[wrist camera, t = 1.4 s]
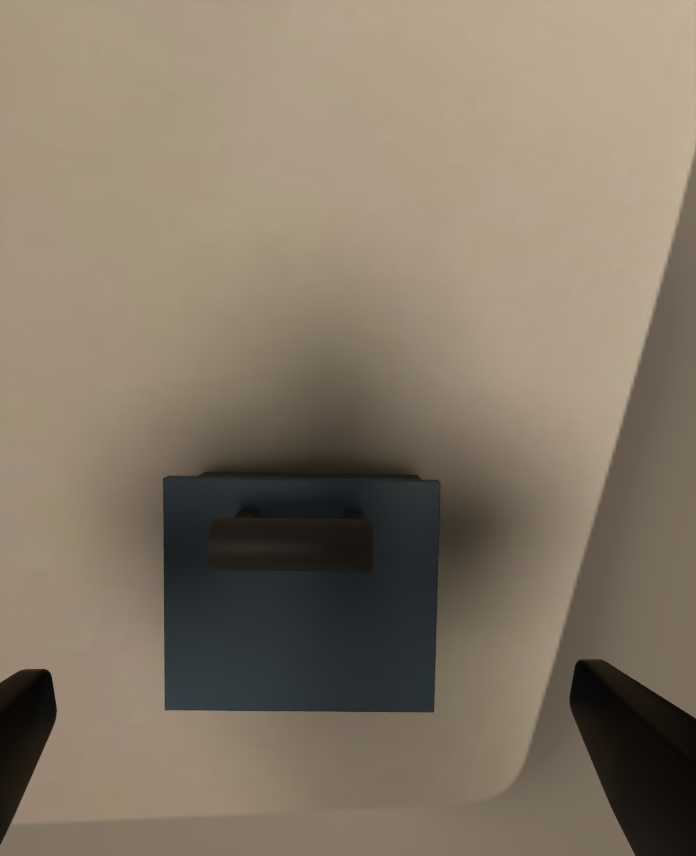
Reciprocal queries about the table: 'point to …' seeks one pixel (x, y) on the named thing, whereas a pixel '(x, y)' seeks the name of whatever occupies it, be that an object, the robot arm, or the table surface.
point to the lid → (300, 593)
